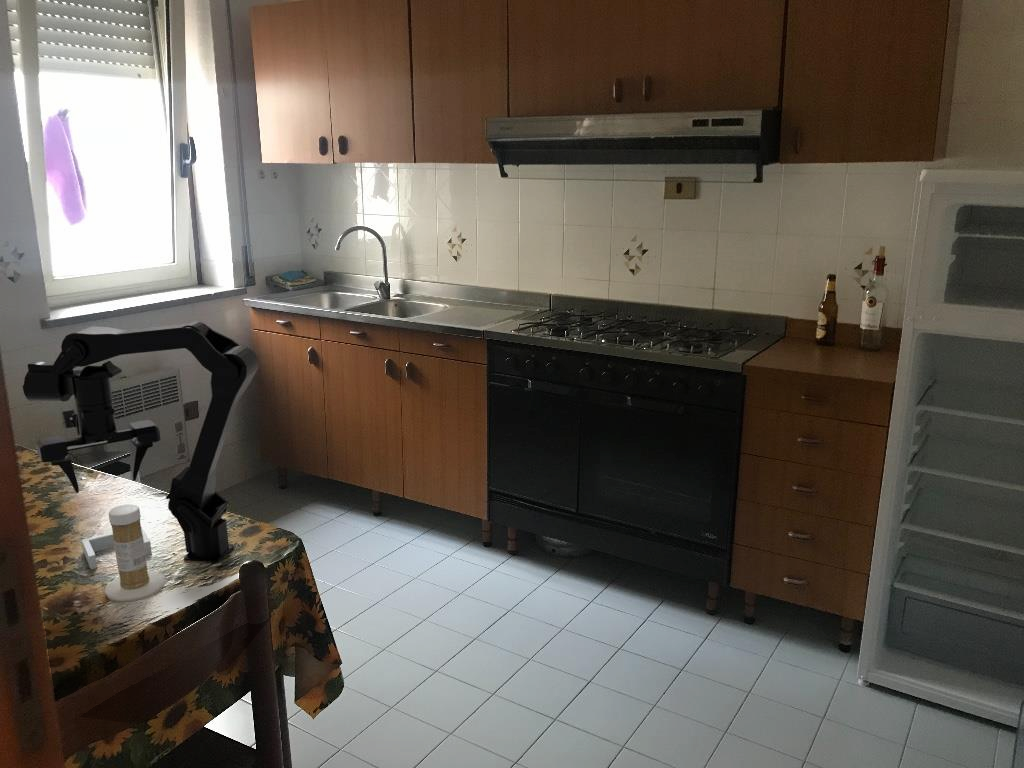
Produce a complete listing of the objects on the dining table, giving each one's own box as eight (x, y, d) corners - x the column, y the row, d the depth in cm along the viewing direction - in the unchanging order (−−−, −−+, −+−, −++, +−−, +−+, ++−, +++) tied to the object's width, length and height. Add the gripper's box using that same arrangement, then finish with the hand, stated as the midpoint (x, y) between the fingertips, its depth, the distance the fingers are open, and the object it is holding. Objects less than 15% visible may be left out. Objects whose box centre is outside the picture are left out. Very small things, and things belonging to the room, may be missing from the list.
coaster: (175, 576, 141) (175, 572, 141) (144, 604, 132) (143, 599, 132) (127, 572, 142) (127, 568, 142) (93, 599, 134) (92, 595, 134)
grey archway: (83, 552, 150) (81, 539, 149) (142, 537, 156) (140, 525, 155) (91, 569, 144) (88, 556, 143) (151, 553, 149) (150, 541, 149)
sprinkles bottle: (142, 574, 140) (131, 500, 137) (154, 583, 137) (144, 508, 134) (115, 584, 137) (103, 509, 134) (126, 593, 134) (115, 517, 130)
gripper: (140, 382, 153) (149, 461, 157) (25, 399, 142) (38, 484, 147) (156, 396, 145) (166, 479, 149) (35, 415, 134) (49, 504, 138)
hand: (105, 486), depth 146 cm, fingers open, 9 cm apart
